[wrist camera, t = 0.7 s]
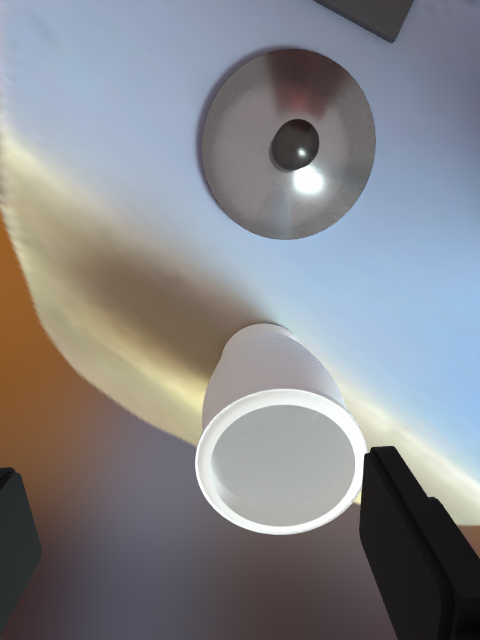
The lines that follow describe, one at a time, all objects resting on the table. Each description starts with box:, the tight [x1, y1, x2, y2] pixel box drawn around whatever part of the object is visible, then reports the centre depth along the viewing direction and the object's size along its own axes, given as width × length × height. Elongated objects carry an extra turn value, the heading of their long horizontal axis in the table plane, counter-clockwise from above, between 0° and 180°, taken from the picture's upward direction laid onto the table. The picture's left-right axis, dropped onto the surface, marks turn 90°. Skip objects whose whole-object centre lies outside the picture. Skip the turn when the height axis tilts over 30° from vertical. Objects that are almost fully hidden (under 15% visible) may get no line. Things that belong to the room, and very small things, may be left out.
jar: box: [196, 323, 368, 535], centre depth 29 cm, size 11×10×15 cm
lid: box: [202, 49, 376, 240], centre depth 28 cm, size 14×14×5 cm
